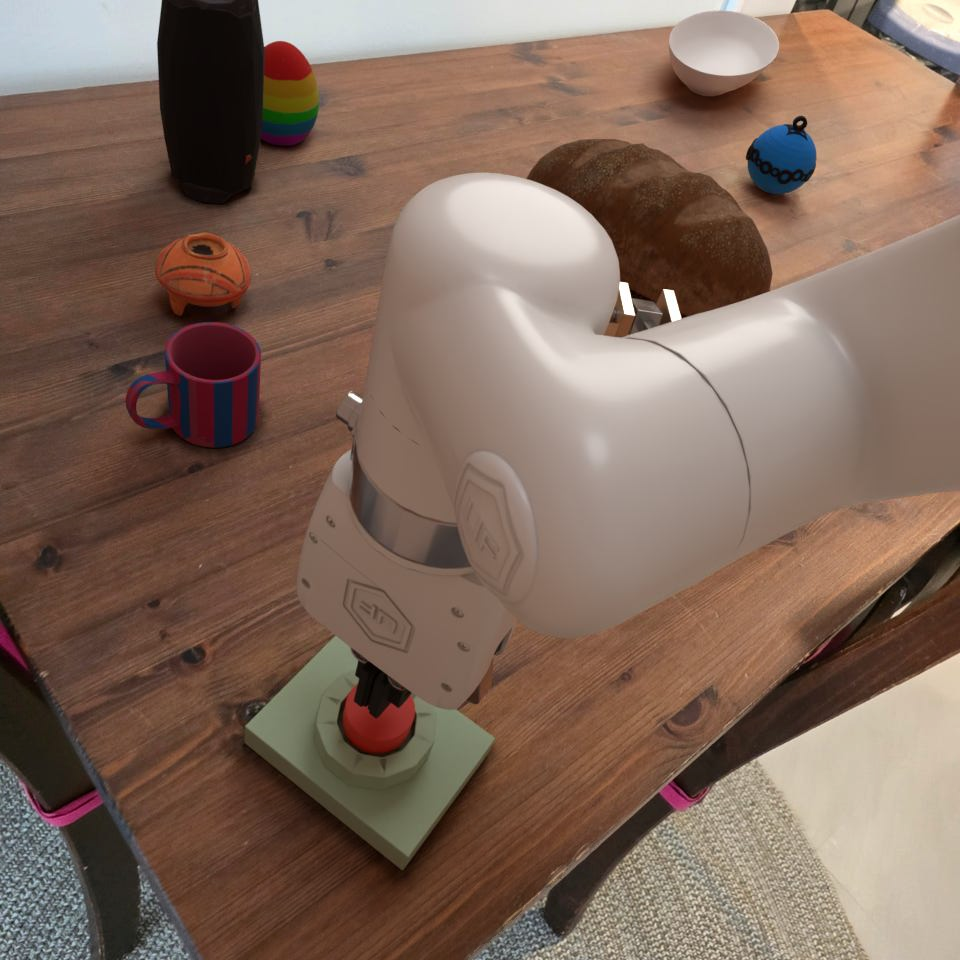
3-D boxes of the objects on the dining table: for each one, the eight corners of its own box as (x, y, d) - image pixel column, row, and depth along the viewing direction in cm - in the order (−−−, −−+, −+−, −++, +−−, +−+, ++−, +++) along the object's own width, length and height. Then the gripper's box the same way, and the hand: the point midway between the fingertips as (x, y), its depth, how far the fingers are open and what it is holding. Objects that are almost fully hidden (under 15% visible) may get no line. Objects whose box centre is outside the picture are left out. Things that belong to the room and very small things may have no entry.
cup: (272, 434, 69) (276, 369, 64) (144, 471, 64) (138, 404, 60) (237, 379, 73) (238, 313, 68) (112, 410, 68) (103, 342, 63)
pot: (137, 278, 78) (150, 210, 74) (223, 285, 82) (240, 220, 78) (162, 334, 73) (178, 264, 69) (252, 337, 78) (271, 272, 74)
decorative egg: (250, 108, 101) (252, 18, 94) (321, 124, 102) (329, 36, 95) (233, 143, 96) (234, 50, 89) (309, 159, 97) (316, 69, 90)
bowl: (724, 132, 125) (743, 90, 120) (630, 89, 128) (644, 46, 123) (779, 73, 144) (797, 35, 140) (697, 37, 147) (711, -1, 143)
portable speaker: (274, 197, 91) (284, -3, 76) (188, 214, 86) (181, 4, 72) (234, 154, 94) (237, -45, 80) (149, 168, 89) (135, -41, 75)
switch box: (488, 753, 56) (503, 725, 53) (402, 871, 50) (413, 846, 47) (341, 643, 59) (347, 610, 56) (243, 742, 53) (244, 711, 50)
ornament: (792, 181, 119) (829, 110, 112) (802, 214, 113) (841, 141, 106) (732, 165, 118) (765, 92, 111) (738, 198, 113) (774, 123, 105)
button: (424, 717, 52) (429, 704, 51) (382, 768, 50) (386, 755, 49) (371, 678, 53) (374, 663, 52) (327, 725, 51) (330, 711, 50)
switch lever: (704, 395, 65) (715, 365, 64) (640, 385, 64) (649, 355, 63) (661, 330, 75) (670, 304, 74) (605, 321, 74) (613, 294, 73)
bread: (721, 357, 89) (772, 263, 81) (488, 219, 97) (513, 121, 88) (776, 296, 99) (826, 206, 91) (561, 175, 107) (590, 83, 98)
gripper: (239, 430, 35) (233, 658, 49) (549, 648, 32) (451, 830, 45) (358, 346, 40) (323, 575, 54) (639, 528, 37) (526, 724, 50)
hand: (382, 691), depth 49 cm, fingers closed
